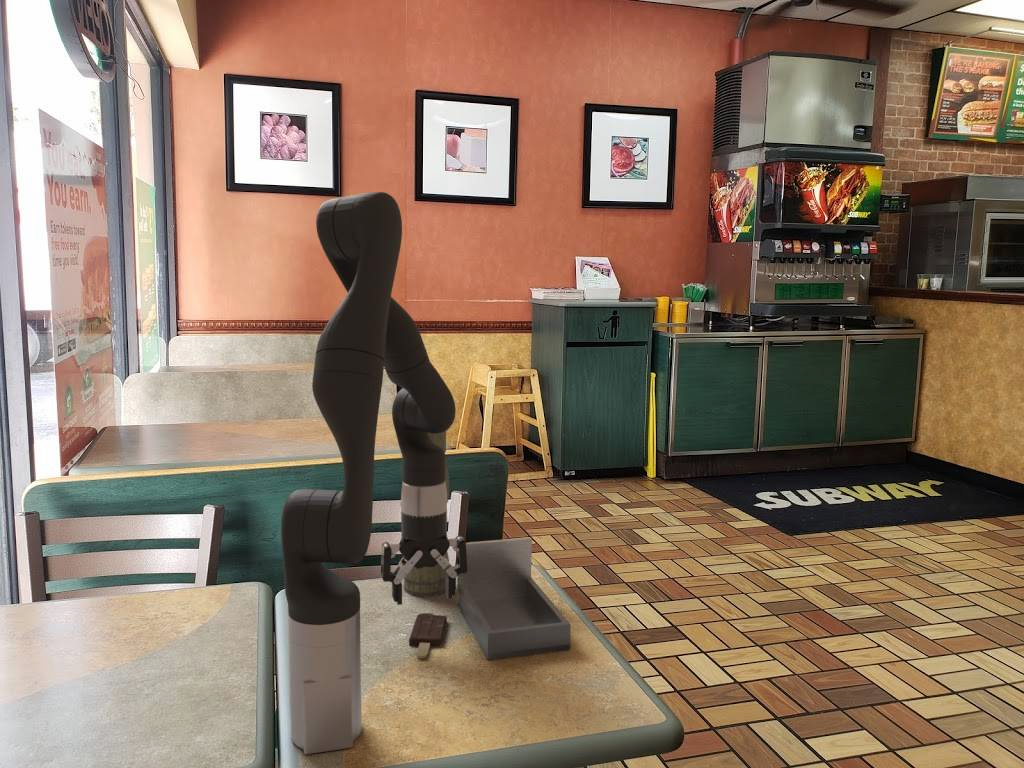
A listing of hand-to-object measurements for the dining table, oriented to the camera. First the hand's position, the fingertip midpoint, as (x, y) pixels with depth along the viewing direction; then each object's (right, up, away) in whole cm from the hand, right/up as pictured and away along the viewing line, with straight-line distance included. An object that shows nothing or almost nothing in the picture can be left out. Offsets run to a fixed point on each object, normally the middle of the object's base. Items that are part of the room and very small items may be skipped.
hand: (424, 600), depth 135 cm
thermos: (-2, -4, +22) cm, 23 cm away
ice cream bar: (0, -7, 0) cm, 7 cm away
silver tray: (+14, -6, +5) cm, 17 cm away
